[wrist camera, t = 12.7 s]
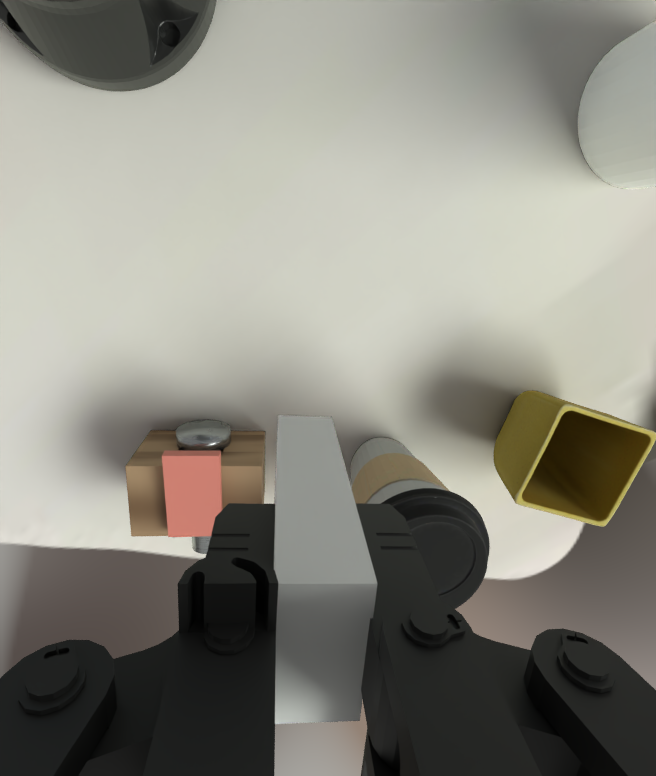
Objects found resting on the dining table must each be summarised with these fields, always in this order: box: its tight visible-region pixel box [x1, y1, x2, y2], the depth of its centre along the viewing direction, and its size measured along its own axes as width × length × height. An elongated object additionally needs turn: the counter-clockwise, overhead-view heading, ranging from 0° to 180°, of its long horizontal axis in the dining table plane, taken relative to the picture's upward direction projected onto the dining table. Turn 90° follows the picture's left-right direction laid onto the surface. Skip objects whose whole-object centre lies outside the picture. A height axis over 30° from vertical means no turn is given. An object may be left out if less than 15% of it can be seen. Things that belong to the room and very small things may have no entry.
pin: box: [176, 420, 231, 554], centre depth 40 cm, size 11×4×4 cm, turn 177°
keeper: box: [162, 450, 222, 537], centre depth 35 cm, size 7×4×1 cm, turn 177°
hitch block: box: [125, 430, 265, 536], centre depth 39 cm, size 6×10×7 cm, turn 87°
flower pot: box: [494, 391, 656, 526], centre depth 40 cm, size 9×9×9 cm
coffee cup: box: [351, 437, 489, 609], centre depth 37 cm, size 9×9×15 cm
